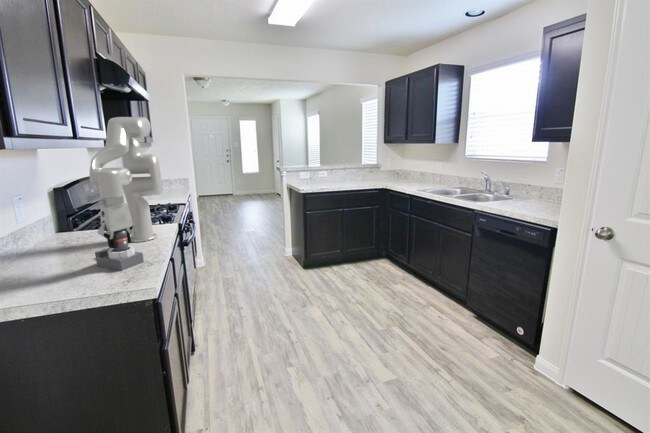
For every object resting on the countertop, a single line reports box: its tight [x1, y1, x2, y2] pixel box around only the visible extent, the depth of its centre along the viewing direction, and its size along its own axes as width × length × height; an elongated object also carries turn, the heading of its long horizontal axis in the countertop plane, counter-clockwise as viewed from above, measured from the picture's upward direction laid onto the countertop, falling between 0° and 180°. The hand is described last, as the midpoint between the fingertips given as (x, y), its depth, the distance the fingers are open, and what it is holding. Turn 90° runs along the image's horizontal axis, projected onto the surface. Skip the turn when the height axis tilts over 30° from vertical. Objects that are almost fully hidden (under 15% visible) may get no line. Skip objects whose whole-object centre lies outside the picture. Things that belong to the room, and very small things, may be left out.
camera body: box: [94, 245, 145, 271], centre depth 138 cm, size 14×10×6 cm
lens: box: [113, 229, 129, 252], centre depth 136 cm, size 5×5×10 cm
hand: (120, 244), depth 136 cm, fingers open, 6 cm apart
